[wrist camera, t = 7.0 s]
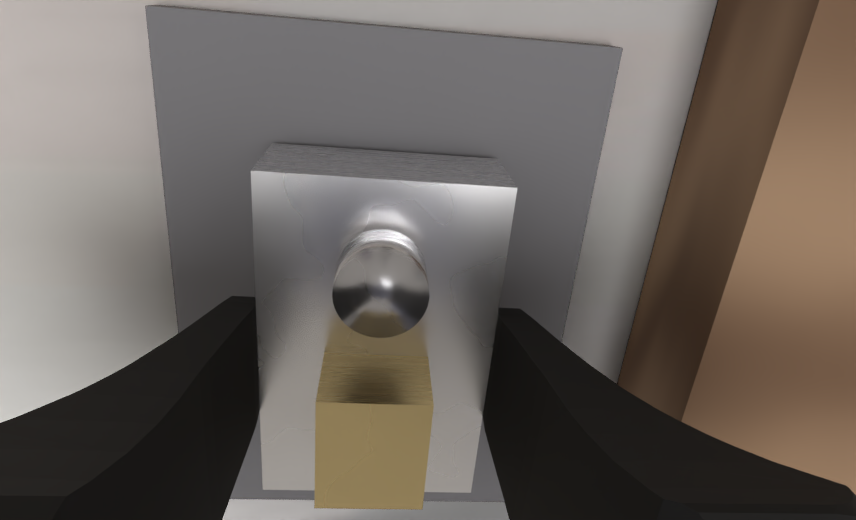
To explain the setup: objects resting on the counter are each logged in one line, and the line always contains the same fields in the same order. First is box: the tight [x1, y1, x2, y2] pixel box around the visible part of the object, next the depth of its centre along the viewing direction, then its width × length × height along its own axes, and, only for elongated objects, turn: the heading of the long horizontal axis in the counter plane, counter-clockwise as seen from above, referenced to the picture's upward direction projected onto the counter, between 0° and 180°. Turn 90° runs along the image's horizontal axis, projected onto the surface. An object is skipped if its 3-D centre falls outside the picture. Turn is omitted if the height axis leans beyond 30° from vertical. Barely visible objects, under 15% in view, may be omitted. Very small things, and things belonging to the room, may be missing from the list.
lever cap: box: [251, 143, 517, 509], centre depth 12 cm, size 7×4×4 cm, turn 175°
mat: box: [145, 5, 623, 502], centre depth 14 cm, size 12×9×1 cm
